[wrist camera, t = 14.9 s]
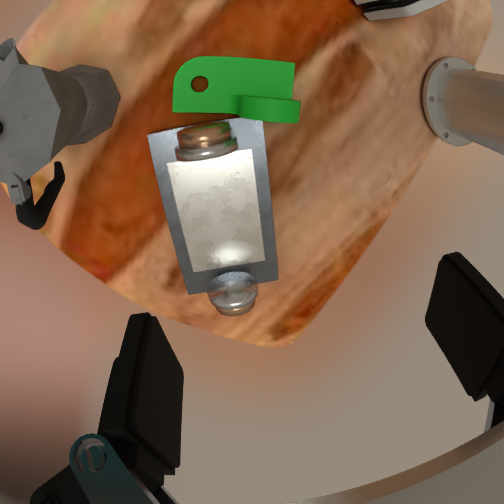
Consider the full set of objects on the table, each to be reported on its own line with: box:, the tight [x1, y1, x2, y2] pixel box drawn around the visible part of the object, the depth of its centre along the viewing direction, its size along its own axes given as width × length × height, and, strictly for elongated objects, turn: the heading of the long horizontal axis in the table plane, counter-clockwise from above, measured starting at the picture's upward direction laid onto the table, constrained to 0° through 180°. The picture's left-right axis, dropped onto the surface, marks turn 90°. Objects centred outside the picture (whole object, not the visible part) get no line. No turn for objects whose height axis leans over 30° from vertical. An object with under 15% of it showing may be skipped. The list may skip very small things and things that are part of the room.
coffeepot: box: [0, 38, 120, 230], centre depth 20 cm, size 15×9×18 cm, turn 179°
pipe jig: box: [147, 116, 279, 316], centre depth 33 cm, size 21×12×8 cm, turn 7°
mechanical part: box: [172, 56, 301, 123], centre depth 26 cm, size 12×6×8 cm, turn 85°
